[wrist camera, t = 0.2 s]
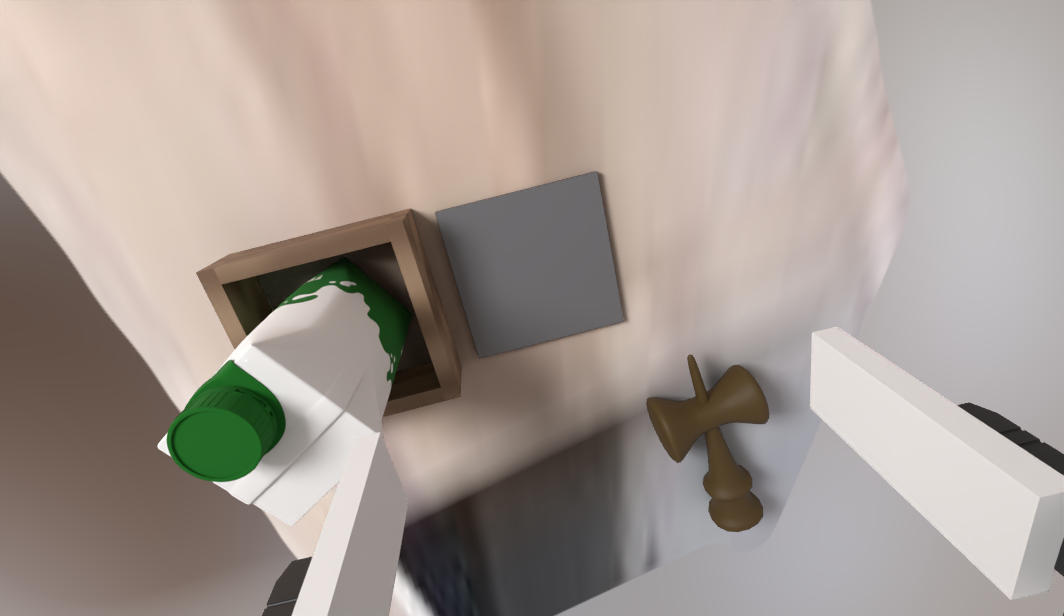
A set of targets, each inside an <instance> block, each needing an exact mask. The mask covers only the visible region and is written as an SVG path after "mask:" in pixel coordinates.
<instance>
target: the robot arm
mask: <svg viewBox="0 0 1064 616" xmlns="http://www.w3.org/2000/svg"><path fill="white" fill-rule="evenodd" d="M810 408H811V409H812V410H813V411H814V412H815V413H816V414H817V415H818V416H819V417H820V418H821V419H822V420H823V421H825V422H826V423H827V424H828V425H829V426H830V427H831V428H832V429H833V430H834V431H835V432H836V433H837V434H838V435H839V436H840V437H841V438H842V439H843V440H844V441H845V442H846V443H847V444H848V445H850V446H851V447H852V448H853V449H854V450H855V451H856V452H857V453H858V454H859V455H860V456H861V457H862V458H863V459H864V460H865V461H866V462H867V463H868V464H869V465H870V466H872V467H873V468H874V469H875V470H876V471H877V472H878V473H879V474H880V475H881V476H882V477H883V478H884V479H885V480H886V481H887V482H888V483H889V484H890V485H891V486H893V488H894V489H896V490H897V491H898V492H899V493H900V494H901V495H902V496H903V497H904V498H905V499H906V500H907V501H908V502H909V503H910V504H911V505H912V506H913V507H914V508H916V510H917V511H919V512H920V513H921V514H922V515H923V516H924V517H925V518H926V519H927V520H928V521H929V522H930V523H931V524H932V525H933V526H934V527H935V528H936V529H937V530H938V531H939V532H941V533H942V534H943V535H944V536H945V537H946V538H947V539H948V540H949V541H950V542H951V543H952V544H953V545H954V546H955V547H956V548H957V549H958V550H959V551H960V552H961V553H962V554H964V555H965V556H966V557H967V558H968V559H969V560H970V561H971V562H972V563H973V564H974V565H975V566H976V567H977V568H978V569H979V570H980V571H981V572H982V573H983V574H984V575H985V576H986V577H987V578H989V579H990V580H991V581H992V582H993V583H994V584H995V585H996V586H997V587H998V588H999V589H1000V590H1001V591H1002V592H1003V593H1004V594H1005V595H1006V596H1007V597H1008V598H1009V599H1011V600H1014V599H1018V598H1022V597H1026V596H1031V595H1035V594H1039V593H1043V592H1047V591H1049V588H1050V585H1051V582H1052V578H1053V576H1054V573H1055V570H1056V571H1058V572H1059V573H1060V574H1061V575H1063V576H1064V454H1062V453H1061V452H1059V451H1058V450H1056V449H1054V448H1053V447H1051V446H1050V445H1048V444H1046V443H1041V442H1040V440H1039V439H1038V438H1036V437H1034V436H1033V435H1032V434H1030V433H1028V432H1027V431H1022V430H1021V428H1020V427H1019V426H1017V425H1016V424H1014V423H1012V422H1011V421H1009V420H1008V419H1006V418H1004V417H1003V416H1001V415H1000V414H998V413H996V412H993V411H990V410H988V409H985V408H982V407H980V406H977V405H974V404H972V403H965V404H961V405H955V404H954V403H952V402H951V401H949V400H948V399H946V398H945V397H943V396H942V395H940V394H939V393H937V392H936V391H934V390H933V389H931V388H929V387H928V386H927V385H925V384H924V383H922V382H921V381H919V380H917V379H916V378H914V377H913V376H911V375H910V374H908V373H907V372H905V371H904V370H902V369H901V368H899V367H898V366H896V365H895V364H893V363H891V362H890V361H889V360H887V359H886V358H884V357H883V356H881V355H880V354H878V353H876V352H875V351H873V350H872V349H870V348H869V347H867V346H866V345H864V344H862V343H861V342H860V341H858V340H857V339H855V338H854V337H852V336H851V335H849V334H848V333H846V332H845V331H843V330H842V329H840V328H838V327H833V328H829V329H825V330H820V331H816V332H812V354H811V391H810ZM407 506H408V499H407V496H406V494H405V491H404V489H403V487H402V484H401V482H400V479H399V477H398V474H397V472H396V469H395V467H394V465H393V462H392V460H391V457H390V455H389V452H388V450H387V448H386V445H385V443H384V440H383V438H382V435H381V433H380V432H379V433H375V434H370V435H366V436H362V437H357V438H355V439H354V442H353V445H352V448H351V450H350V453H349V456H348V459H347V462H346V464H345V467H344V470H343V473H342V476H341V478H340V481H339V484H338V487H337V490H336V492H335V495H334V498H333V501H332V504H331V506H330V509H329V512H328V515H327V518H326V520H325V523H324V526H323V529H322V532H321V534H320V537H319V540H318V543H317V546H316V548H315V551H314V554H313V557H308V558H304V559H300V560H295V561H292V562H291V563H290V565H289V566H288V567H287V569H286V570H285V571H284V573H283V574H282V575H281V577H280V578H279V579H278V580H277V581H276V583H275V586H274V588H273V590H272V593H271V595H270V598H269V600H268V603H267V609H265V610H264V612H263V615H262V616H389V611H390V606H391V600H392V594H393V588H394V582H395V576H396V571H397V565H398V559H399V553H400V547H401V541H402V536H403V530H404V524H405V518H406V512H407ZM1063 616H1064V614H1063Z"/></svg>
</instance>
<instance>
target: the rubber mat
mask: <svg viewBox="0 0 1064 616" xmlns="http://www.w3.org/2000/svg"><path fill="white" fill-rule="evenodd" d="M435 215H436V218H437V221H438V224H439V228H440V231H441V234H442V238H443V241H444V244H445V247H446V251H447V254H448V257H449V261H450V264H451V267H452V271H453V274H454V277H455V280H456V284H457V287H458V290H459V294H460V297H461V300H462V303H463V307H464V310H465V313H466V317H467V320H468V323H469V326H470V330H471V333H472V336H473V340H474V343H475V346H476V349H477V353H478V356H479V359H480V358H484V357H488V356H492V355H495V354H499V353H503V352H507V351H511V350H515V349H519V348H522V347H526V346H530V345H534V344H538V343H542V342H546V341H549V340H553V339H557V338H561V337H565V336H569V335H573V334H576V333H580V332H584V331H588V330H592V329H596V328H599V327H603V326H607V325H611V324H615V323H619V322H623V321H624V320H623V314H622V309H621V303H620V297H619V292H618V286H617V280H616V275H615V269H614V264H613V258H612V252H611V247H610V241H609V235H608V230H607V224H606V218H605V213H604V207H603V202H602V196H601V190H600V185H599V179H598V173H597V172H596V171H595V172H591V173H587V174H583V175H579V176H575V177H571V178H567V179H563V180H559V181H555V182H551V183H547V184H543V185H539V186H535V187H531V188H528V189H524V190H520V191H516V192H512V193H508V194H504V195H500V196H496V197H492V198H488V199H484V200H480V201H476V202H472V203H468V204H464V205H460V206H456V207H452V208H448V209H444V210H441V211H437V212H435Z"/></svg>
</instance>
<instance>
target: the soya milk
mask: <svg viewBox="0 0 1064 616" xmlns="http://www.w3.org/2000/svg"><path fill="white" fill-rule="evenodd" d="M412 316H413V313H412V312H411V311H410V310H409V309H407V308H406V307H405V306H404V305H403V304H401V303H400V302H399V301H398V300H397V299H395V298H394V297H393V296H392V295H391V294H389V293H388V292H387V291H386V290H385V289H383V288H382V287H381V286H380V285H379V284H377V283H376V282H375V281H374V280H373V279H371V278H370V277H369V276H368V275H367V274H365V273H364V272H363V271H362V270H361V269H359V268H358V267H357V266H356V265H355V264H353V263H352V262H351V261H350V260H349V259H348V258H346V257H343V258H342V259H340V260H339V261H337V262H336V263H334V264H333V265H331V266H330V267H328V268H327V269H325V270H324V271H322V272H321V273H319V274H318V275H316V276H315V277H313V278H312V279H310V280H309V281H307V282H306V283H304V284H303V285H302V286H301V287H299V288H298V289H297V290H296V291H295V292H294V293H292V294H291V295H290V296H289V297H288V298H287V299H285V300H284V301H283V302H282V303H281V304H280V305H279V306H278V307H277V308H276V309H275V310H274V311H273V312H272V313H271V314H270V315H269V316H268V317H267V318H266V319H265V320H264V321H262V322H261V323H260V324H259V325H258V326H257V327H256V328H255V329H254V330H253V331H252V332H251V333H250V334H249V335H248V336H247V337H246V338H245V339H244V340H243V341H242V342H241V343H240V344H239V345H238V347H237V348H236V349H235V350H234V351H233V353H232V354H231V355H230V356H229V358H228V359H227V360H226V361H225V362H224V364H223V365H222V366H221V367H220V368H219V369H218V370H217V372H216V373H215V374H214V375H213V376H212V378H210V379H209V380H208V381H206V382H205V383H204V384H203V385H202V386H201V387H200V388H199V389H198V390H197V391H196V393H195V394H194V395H193V396H192V398H191V399H190V401H189V402H188V404H187V405H186V407H185V409H184V410H183V411H182V412H181V413H180V414H179V415H178V416H177V418H176V419H175V420H174V422H173V423H172V424H171V426H170V428H169V430H168V433H167V434H166V435H165V436H164V438H163V439H162V440H161V441H160V442H159V444H158V449H160V450H161V451H163V452H164V453H166V454H167V455H169V456H171V457H172V458H173V460H174V461H175V462H176V464H177V465H178V466H179V467H180V468H182V469H183V470H184V471H186V472H187V473H189V474H191V475H192V476H195V477H197V478H200V479H203V480H207V481H212V482H213V483H215V484H217V485H218V486H220V487H221V488H223V489H225V490H226V491H228V492H229V493H230V494H231V495H232V496H234V497H235V498H237V499H239V500H240V501H242V502H244V503H246V504H251V503H252V504H254V505H256V506H257V507H259V508H261V509H262V510H264V511H266V512H267V513H269V514H271V515H272V516H274V517H276V518H277V519H279V520H281V521H282V522H284V523H286V524H288V525H289V526H291V527H292V526H293V525H294V524H295V523H296V522H297V521H298V520H300V519H301V518H302V517H303V516H304V515H305V514H306V513H307V512H308V511H309V510H310V509H311V508H312V507H313V506H314V505H315V504H316V503H317V502H318V501H319V500H320V499H321V498H322V497H324V496H325V495H326V494H327V493H328V492H329V491H330V490H331V489H332V488H333V487H334V486H335V485H336V484H337V483H338V482H339V481H340V478H341V476H342V473H343V470H344V467H345V464H346V462H347V459H348V456H349V453H350V450H351V448H352V445H353V442H354V439H355V438H357V437H362V436H366V435H370V434H375V433H379V432H380V433H381V435H382V438H383V427H382V418H383V414H384V411H385V408H386V404H387V401H388V398H389V394H390V391H391V388H392V384H393V381H394V378H395V374H396V371H397V368H398V364H399V361H400V358H401V354H402V351H403V347H404V344H405V340H406V337H407V333H408V330H409V326H410V323H411V319H412ZM383 439H384V438H383Z"/></svg>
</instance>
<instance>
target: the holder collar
mask: <svg viewBox="0 0 1064 616" xmlns="http://www.w3.org/2000/svg"><path fill="white" fill-rule="evenodd" d="M387 242H391V244H392V247H393V249H394V252H395V255H396V258H397V261H398V264H399V267H400V270H401V273H402V276H403V278H404V281H405V284H406V287H407V290H408V293H409V296H410V299H411V302H412V305H413V308H414V310H415V313H416V316H417V319H418V322H419V325H420V328H421V331H422V334H423V337H424V339H425V342H426V345H427V348H428V351H429V354H430V357H431V360H432V363H428V364H425V365H421V366H417V367H413V368H409V369H405V370H401V371H398V372H396V374H395V378H394V381H393V384H392V388H391V391H390V394H389V398H388V401H387V404H386V408H385V411H384V414H383V417H384V416H388V415H392V414H396V413H400V412H404V411H407V410H411V409H415V408H419V407H423V406H427V405H430V404H434V403H438V402H442V401H446V400H450V399H453V398H457V397H460V391H461V364H460V361H459V358H458V355H457V352H456V349H455V346H454V343H453V340H452V336H451V333H450V330H449V327H448V324H447V321H446V318H445V315H444V312H443V308H442V305H441V302H440V299H439V296H438V293H437V290H436V287H435V284H434V280H433V277H432V274H431V271H430V268H429V265H428V262H427V259H426V256H425V252H424V249H423V246H422V243H421V240H420V237H419V234H418V231H417V227H416V224H415V221H414V218H413V215H412V212H411V209H407V210H403V211H399V212H395V213H391V214H387V215H383V216H379V217H376V218H372V219H368V220H364V221H360V222H356V223H352V224H348V225H344V226H340V227H336V228H332V229H328V230H324V231H320V232H316V233H312V234H308V235H304V236H300V237H296V238H292V239H288V240H284V241H280V242H276V243H273V244H269V245H265V246H261V247H257V248H253V249H249V250H245V251H241V252H237V253H233V254H229V255H227V256H225V257H224V258H222V259H220V260H218V261H216V262H215V263H213V264H211V265H209V266H207V267H206V268H204V269H202V270H200V271H198V272H197V273H196V274H197V276H198V278H199V280H200V281H201V283H202V285H203V287H204V289H205V291H206V293H207V295H208V297H209V299H210V301H211V303H212V305H213V307H214V309H215V311H216V313H217V315H218V317H219V319H220V321H221V323H222V325H223V327H224V329H225V331H226V333H227V335H228V337H229V339H230V341H231V343H232V345H233V347H234V349H236V348H237V347H238V345H239V344H240V343H241V342H242V341H243V340H244V339H245V338H246V337H247V336H248V335H249V334H250V333H251V332H252V331H253V330H254V329H255V328H256V327H257V326H258V325H259V324H260V323H261V322H262V321H264V320H265V319H266V318H267V317H268V316H269V315H270V314H271V313H272V310H271V308H270V305H269V303H268V301H267V299H266V297H265V294H264V292H263V290H262V288H261V286H260V284H259V281H258V279H257V277H256V276H257V275H261V274H265V273H269V272H273V271H277V270H281V269H285V268H289V267H293V266H297V265H301V264H305V263H309V262H313V261H316V260H320V259H324V258H328V257H332V256H336V255H340V254H344V253H348V252H352V251H356V250H360V249H364V248H368V247H372V246H376V245H380V244H383V243H387Z"/></svg>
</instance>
